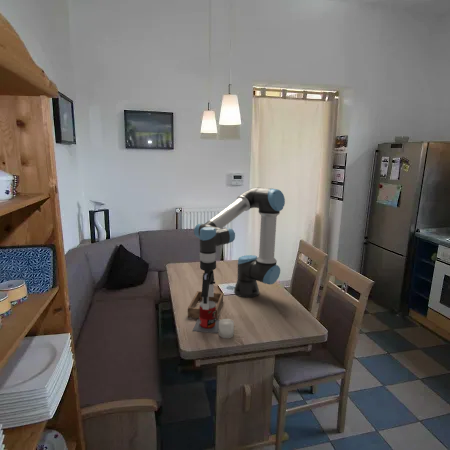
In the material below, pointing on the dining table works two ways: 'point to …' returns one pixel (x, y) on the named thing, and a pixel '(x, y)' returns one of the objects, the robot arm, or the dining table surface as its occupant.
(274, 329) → the dining table surface
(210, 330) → the mat
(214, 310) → the canned food
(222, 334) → the off-white domed pebble
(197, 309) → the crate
